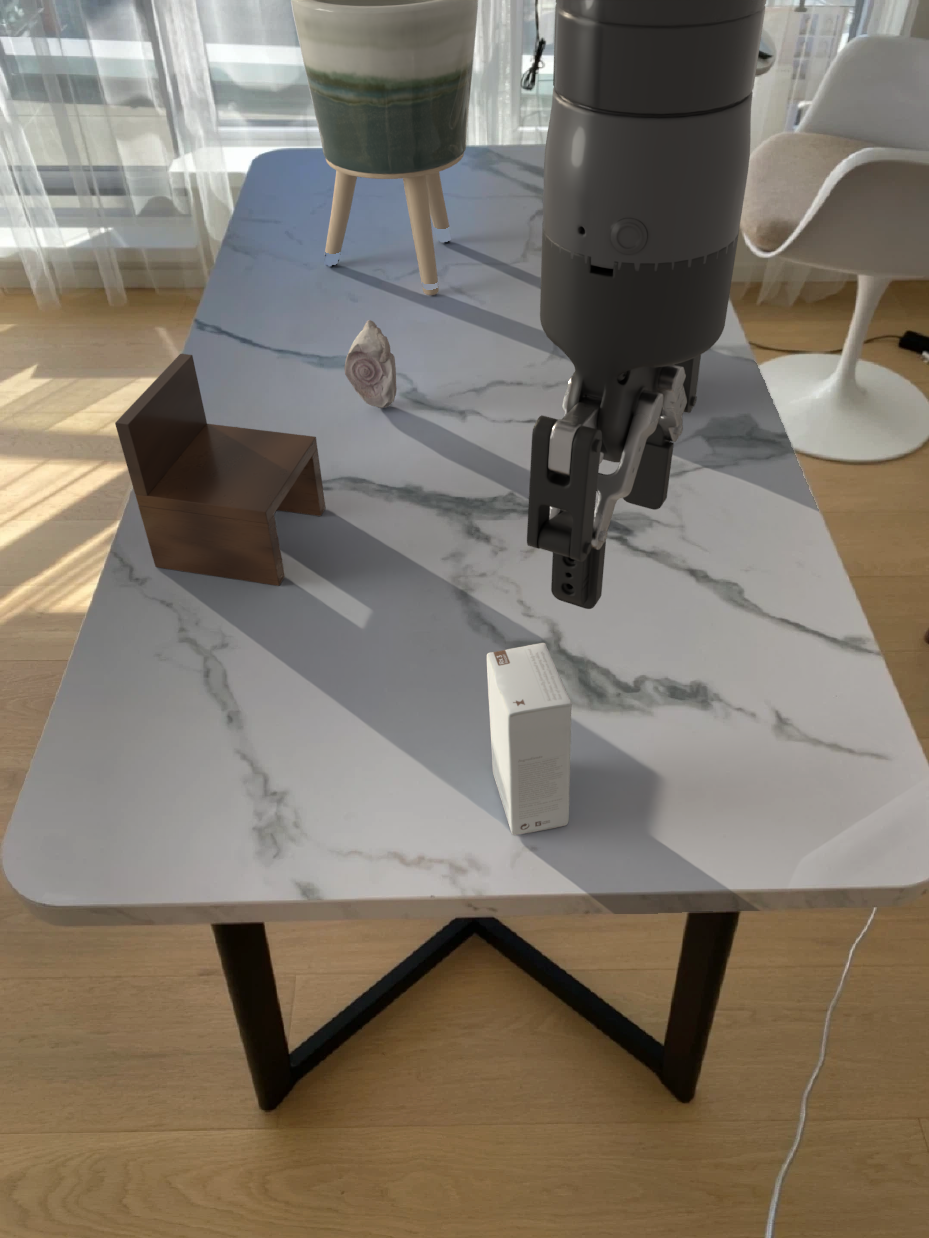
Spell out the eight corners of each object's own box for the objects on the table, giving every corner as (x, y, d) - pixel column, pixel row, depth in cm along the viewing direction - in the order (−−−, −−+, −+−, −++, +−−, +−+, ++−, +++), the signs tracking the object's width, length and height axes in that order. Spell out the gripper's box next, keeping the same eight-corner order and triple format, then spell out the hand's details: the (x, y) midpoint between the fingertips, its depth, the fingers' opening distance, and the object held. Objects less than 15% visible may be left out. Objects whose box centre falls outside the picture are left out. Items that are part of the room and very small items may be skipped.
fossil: (345, 409, 114) (335, 324, 108) (361, 394, 117) (352, 310, 110) (392, 420, 113) (385, 334, 106) (407, 405, 115) (401, 319, 108)
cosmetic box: (571, 826, 72) (579, 704, 64) (508, 838, 72) (508, 717, 63) (546, 759, 77) (551, 638, 69) (486, 771, 76) (484, 650, 68)
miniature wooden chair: (325, 508, 101) (306, 367, 91) (279, 586, 92) (252, 439, 82) (211, 492, 103) (180, 353, 93) (155, 567, 95) (114, 422, 85)
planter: (452, 310, 132) (443, 13, 110) (296, 291, 137) (256, 3, 115) (501, 243, 147) (501, -29, 125) (358, 228, 153) (334, -36, 130)
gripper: (619, 146, 46) (597, 458, 57) (466, 268, 37) (474, 612, 48) (788, 170, 43) (731, 493, 54) (669, 309, 34) (628, 665, 45)
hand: (611, 549), depth 51 cm, fingers open, 8 cm apart
